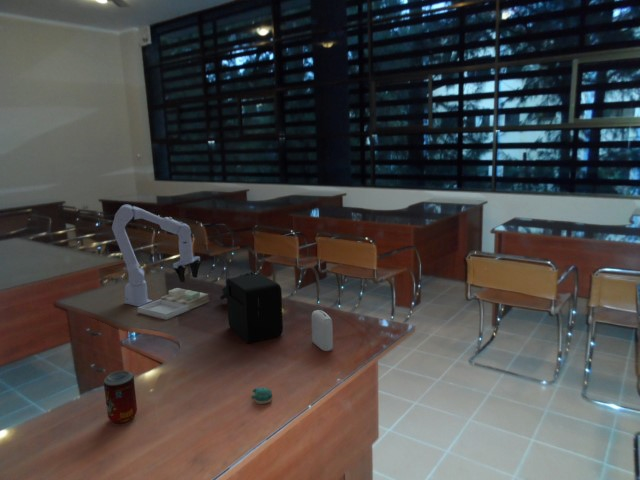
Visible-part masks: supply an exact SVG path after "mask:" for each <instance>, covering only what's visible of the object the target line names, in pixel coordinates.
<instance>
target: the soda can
mask: <svg viewBox="0 0 640 480" xmlns="http://www.w3.org/2000/svg"><path fill="white" fill-rule="evenodd" d="M135 387H136V385H135V377H134V374H133V373H132V372H130V371H127V370H118V371H114V372H110V373H109V374H108V375H107V376H106V377H104V380H103V388H104V395H105V396H104V397H105V404H106V412H107V418H108V420H110V421H111V424H112V425H113V426H123V425H127V424H129V423H131V422H133V421H134V419H135V418H136V414H137V411H138V404H137V395H136V389H135Z"/></svg>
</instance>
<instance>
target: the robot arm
mask: <svg viewBox="0 0 640 480" xmlns="http://www.w3.org/2000/svg"><path fill="white" fill-rule="evenodd" d="M133 217H134V218H133ZM132 219H134V220H139V219H142V220H145V221H149V222H150V223H154V224H156V225H159V227H160V229H161V230H164V231H166V232H169V233H171V234H173V235H177V236H178V250H179V260H178V261H176V262H174V263H172V267H173V270H174V271H175V274H177V276H178V280H179V281H180V282H181V283H184V282H186V280H185V279H186V277H185V274H186V267H185V265H189V266H190V270H191V276H192V278H195V279H196V278H198V273H199V269H200V266H201V263H202V262H201V256H199V255H197V256H196V255H195V256H194V253H193V242H192V241H193V240H192V235H191V234H192V230H191V227H190V225H188V224H187V223H185V222H183V221H178V220H176V219H173V217H171V216H169V217H168V216H165V217H160V216H159V215H156V214H155V213H152V212H150V211H147V210H145V209H143V208H140V207H138V206H135V205H133V206H132V205H131V204H127V203H126V204H123V205H121V206H120V207H119V209H118V210H117V211H116V212H115V214H114V219H113V222H112V225H111V230H112V232H113V235H114V237H115V240H116V242H117V245H118V247H119V250H120V254H121V255H122V257H123V261H124V263H125V266H126V269H127V273H128V283H126V285H125V286H124V296H125V297H124V298H125V301H124V304H126V305H131V306H135V307H140V306H143V305H146V304H149V303H151V302H153V300H152V299H149V298H148V288H147V281H146V280H145V275H146V271H145V269H143V267H141V264H140V263H139V262H138V261H139V260H137V256H136V255H135V252H134V249H133V246H132V244H131V241H130V238H129V235H128V233H127V231H126V226H127V224H128V223H129V222H130V221H131V220H132Z"/></svg>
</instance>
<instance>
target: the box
mask: <svg viewBox="0 0 640 480" xmlns="http://www.w3.org/2000/svg"><path fill="white" fill-rule="evenodd" d="M137 311H138V314H140V313H141V315H145V316H148V317H154V318H156V319H161V320H165V321H167V320H170V319H172V318H174V317H178V316H180V315H182V314H184V313H187V312H189V311H190V310H189V309H188V305H185V304H180V303H176V302H171V301H167V300H162V299H161V298H160V299H158V300H154V301H152V302H149V303H146V304H143V305H141V306H137Z"/></svg>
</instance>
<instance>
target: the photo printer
mask: <svg viewBox="0 0 640 480" xmlns="http://www.w3.org/2000/svg"><path fill="white" fill-rule="evenodd" d="M333 339H334V335H333V320H332V317H330V315H328V313H326V312H325V311H323V310H320V309H317V310H313V311H312V313H311V340H312V343H313V344H314V345H316V346H317V347H318V348H319V349H321V350H322V351H325V352H329V351H332V349H333V347H334V341H333Z"/></svg>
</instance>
